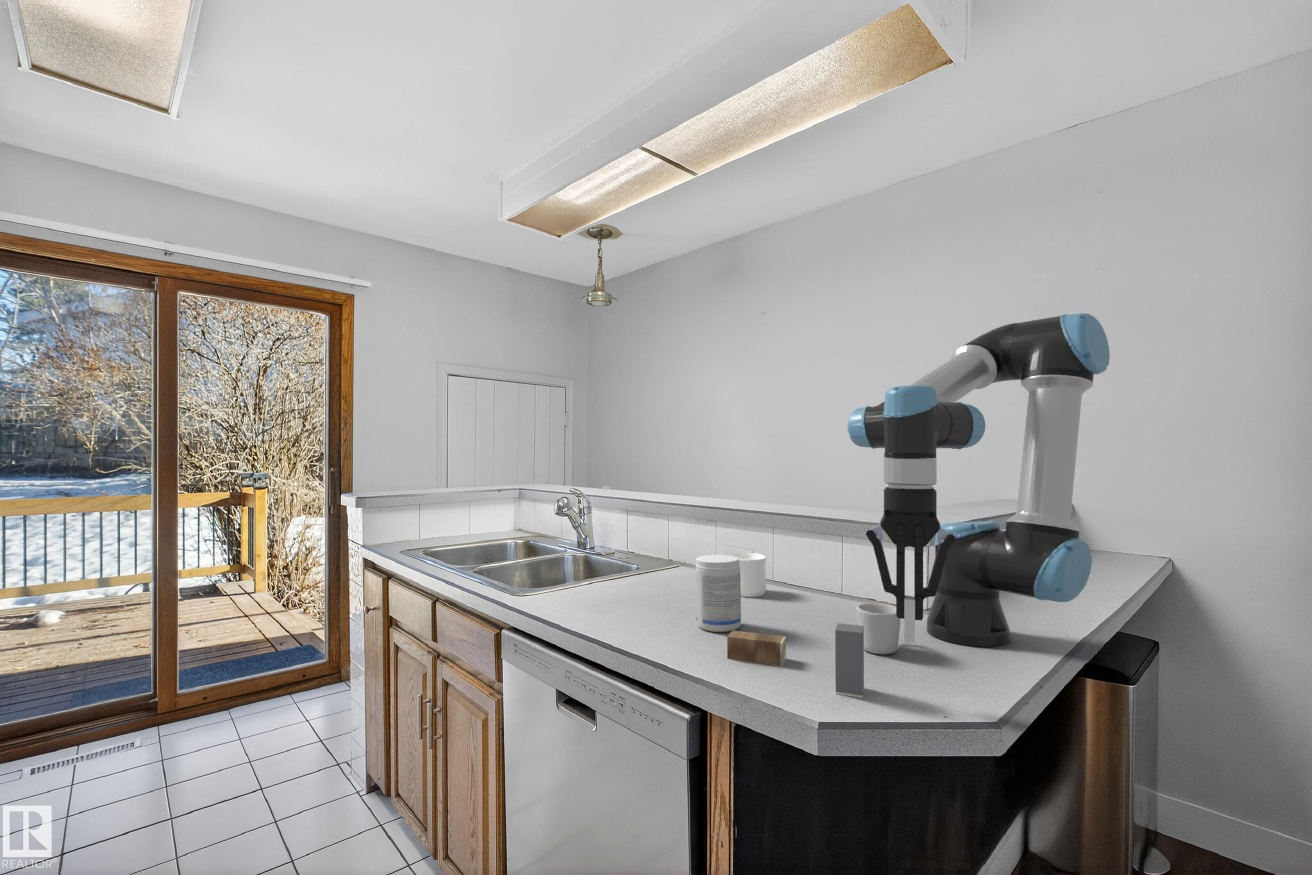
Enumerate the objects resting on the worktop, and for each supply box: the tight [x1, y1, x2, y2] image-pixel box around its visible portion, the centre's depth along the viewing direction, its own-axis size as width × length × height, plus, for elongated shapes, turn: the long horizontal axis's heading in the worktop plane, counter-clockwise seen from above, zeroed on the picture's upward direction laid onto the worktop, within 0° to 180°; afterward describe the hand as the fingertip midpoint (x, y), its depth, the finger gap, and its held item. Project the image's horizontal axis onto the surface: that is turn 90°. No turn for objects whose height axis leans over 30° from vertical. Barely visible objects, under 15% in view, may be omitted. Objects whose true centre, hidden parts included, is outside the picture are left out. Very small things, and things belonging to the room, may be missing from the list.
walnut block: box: [726, 630, 787, 667], centre depth 112 cm, size 4×4×10 cm
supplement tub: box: [695, 554, 742, 633], centre depth 131 cm, size 10×10×15 cm
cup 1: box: [731, 552, 767, 598], centre depth 160 cm, size 10×10×10 cm
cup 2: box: [856, 602, 902, 655], centre depth 117 cm, size 11×8×8 cm
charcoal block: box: [834, 622, 865, 698], centre depth 97 cm, size 4×4×10 cm
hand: (909, 639), depth 94 cm, fingers closed
